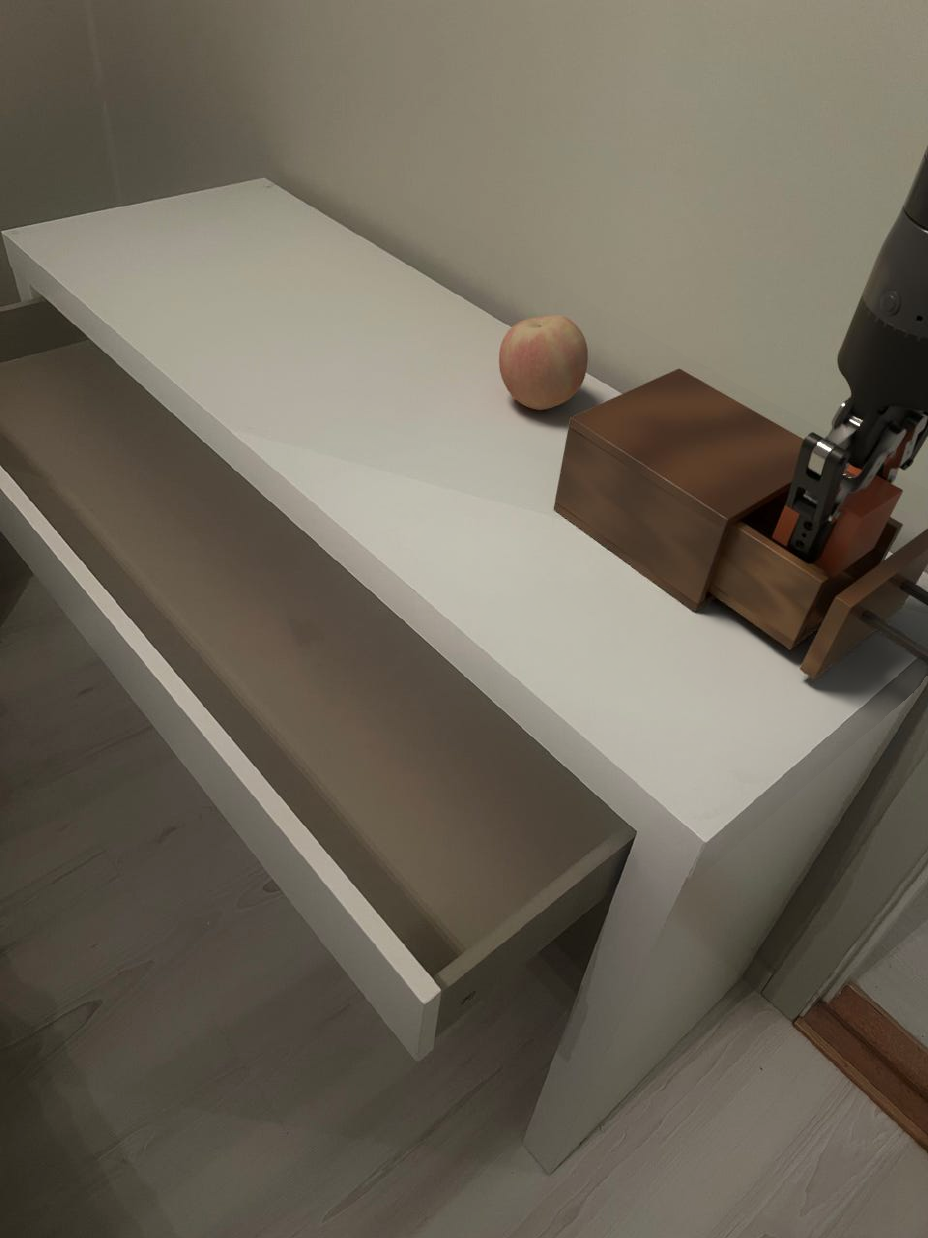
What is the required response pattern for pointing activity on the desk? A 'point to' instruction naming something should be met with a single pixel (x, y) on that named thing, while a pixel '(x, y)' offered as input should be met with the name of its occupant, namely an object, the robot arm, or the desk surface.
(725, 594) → the drawer
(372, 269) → the desk surface
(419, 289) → the desk surface
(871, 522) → the block
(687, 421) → the cabinet
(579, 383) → the apple
